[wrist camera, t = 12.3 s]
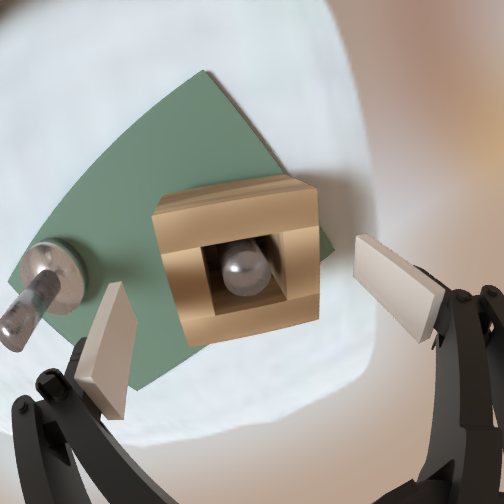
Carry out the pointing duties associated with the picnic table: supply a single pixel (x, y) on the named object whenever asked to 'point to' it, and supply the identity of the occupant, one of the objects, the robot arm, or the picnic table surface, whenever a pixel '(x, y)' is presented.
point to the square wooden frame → (235, 228)
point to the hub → (240, 265)
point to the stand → (44, 289)
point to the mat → (150, 214)
